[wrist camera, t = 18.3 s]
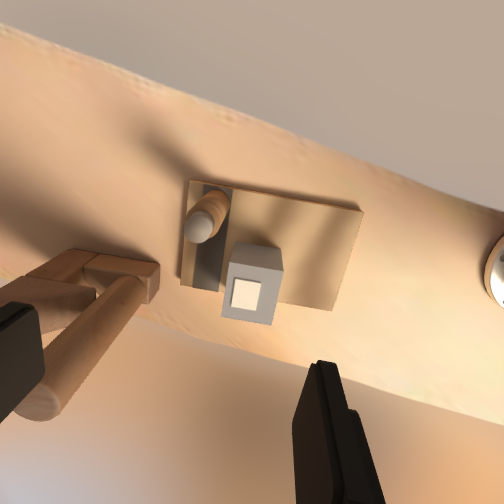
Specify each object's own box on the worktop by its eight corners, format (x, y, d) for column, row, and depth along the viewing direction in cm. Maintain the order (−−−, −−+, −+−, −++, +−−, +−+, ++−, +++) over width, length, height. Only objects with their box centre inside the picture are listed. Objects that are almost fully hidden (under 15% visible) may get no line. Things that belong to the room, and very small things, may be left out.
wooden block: (69, 247, 34) (-123, 356, 17) (161, 262, 34) (59, 386, 17) (72, 274, 35) (-104, 401, 18) (160, 289, 35) (64, 428, 19)
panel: (361, 210, 30) (364, 213, 29) (330, 306, 35) (332, 311, 34) (191, 179, 30) (188, 181, 29) (182, 280, 35) (179, 285, 34)
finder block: (281, 249, 31) (283, 272, 26) (270, 296, 34) (271, 326, 28) (235, 241, 31) (229, 263, 26) (228, 289, 34) (220, 318, 28)
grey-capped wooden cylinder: (231, 192, 29) (217, 215, 21) (228, 218, 30) (213, 251, 22) (204, 187, 29) (179, 208, 21) (201, 213, 30) (176, 244, 22)
